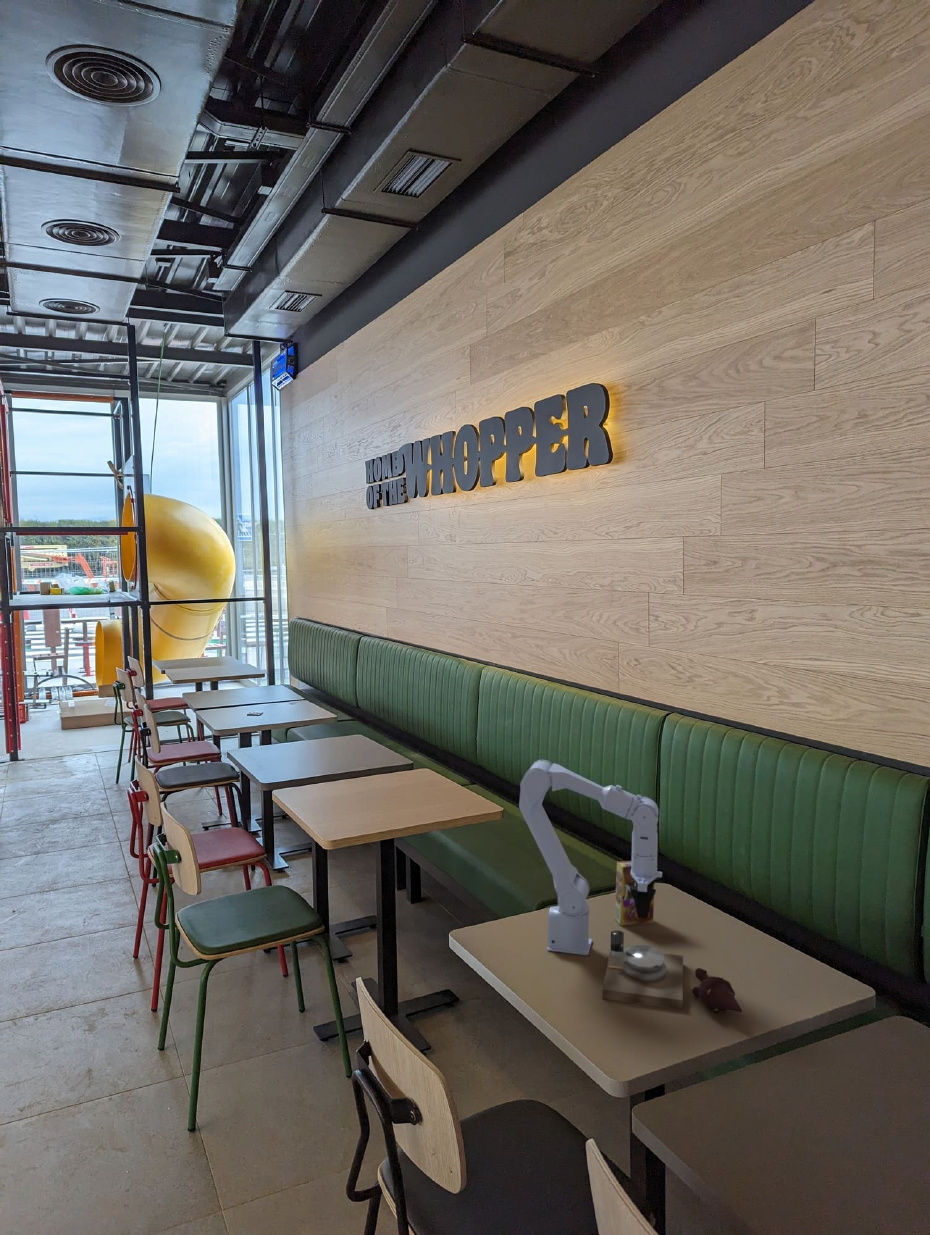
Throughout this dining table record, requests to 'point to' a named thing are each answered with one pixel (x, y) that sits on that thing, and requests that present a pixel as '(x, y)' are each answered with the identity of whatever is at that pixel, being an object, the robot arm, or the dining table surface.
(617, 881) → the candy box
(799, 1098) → the dining table surface
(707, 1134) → the dining table surface
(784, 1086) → the dining table surface
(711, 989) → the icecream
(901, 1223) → the dining table surface
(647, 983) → the lock base
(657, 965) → the grey disc with handle
